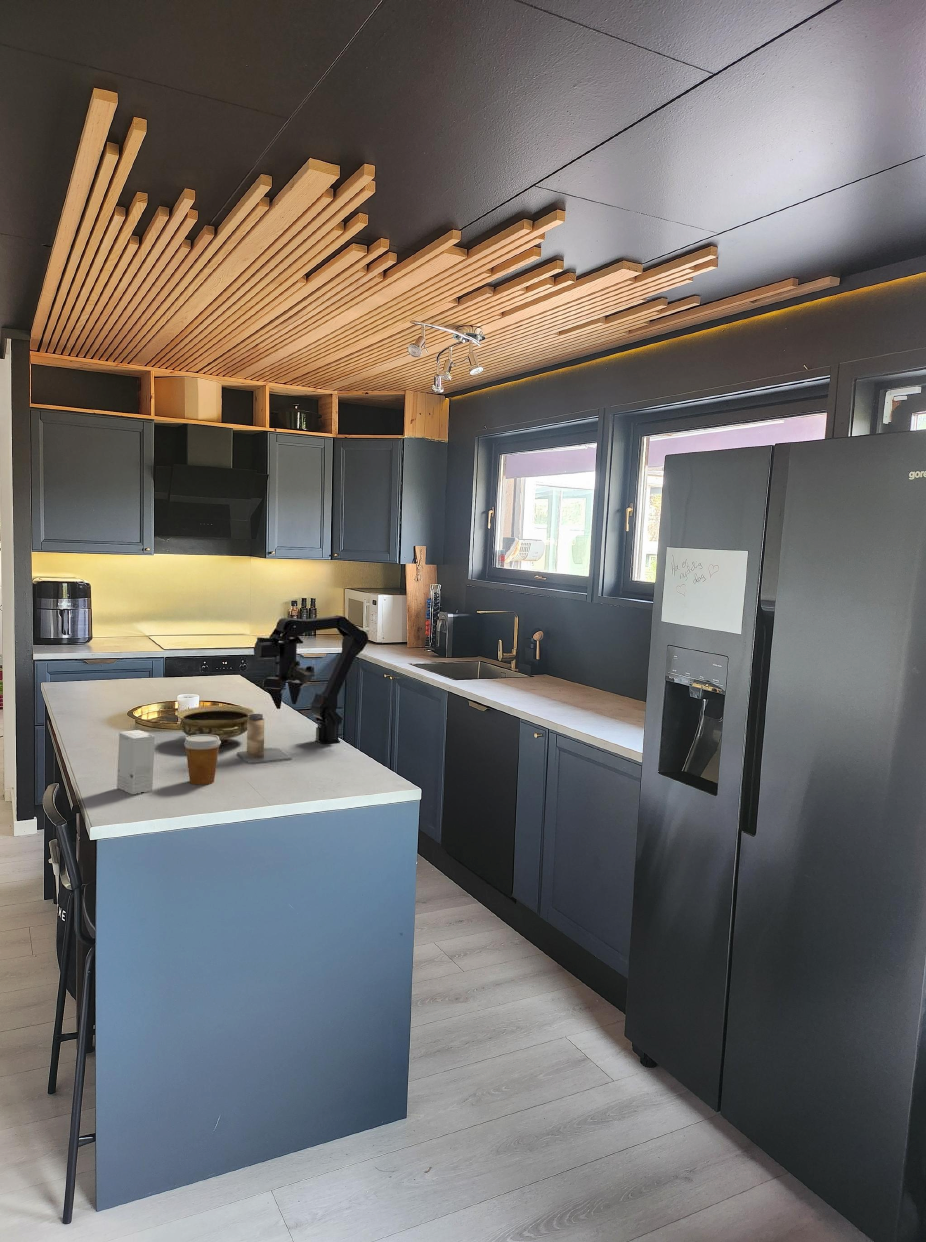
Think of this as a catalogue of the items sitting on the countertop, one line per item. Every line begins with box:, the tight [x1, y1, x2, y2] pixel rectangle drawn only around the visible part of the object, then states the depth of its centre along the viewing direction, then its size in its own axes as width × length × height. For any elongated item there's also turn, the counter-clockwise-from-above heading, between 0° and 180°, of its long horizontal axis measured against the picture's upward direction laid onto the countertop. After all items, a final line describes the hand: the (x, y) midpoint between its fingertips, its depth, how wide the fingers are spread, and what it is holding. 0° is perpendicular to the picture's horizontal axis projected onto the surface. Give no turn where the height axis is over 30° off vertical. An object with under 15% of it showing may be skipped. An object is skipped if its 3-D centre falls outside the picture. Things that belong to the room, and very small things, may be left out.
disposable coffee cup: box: [183, 734, 221, 786], centre depth 225 cm, size 10×10×12 cm
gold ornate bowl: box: [176, 705, 255, 746], centre depth 269 cm, size 30×24×10 cm
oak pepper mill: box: [246, 713, 265, 758], centre depth 252 cm, size 5×5×12 cm
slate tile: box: [236, 747, 293, 765], centre depth 254 cm, size 13×13×1 cm
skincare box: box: [116, 729, 156, 795], centre depth 215 cm, size 8×6×15 cm
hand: (286, 706), depth 267 cm, fingers open, 9 cm apart
